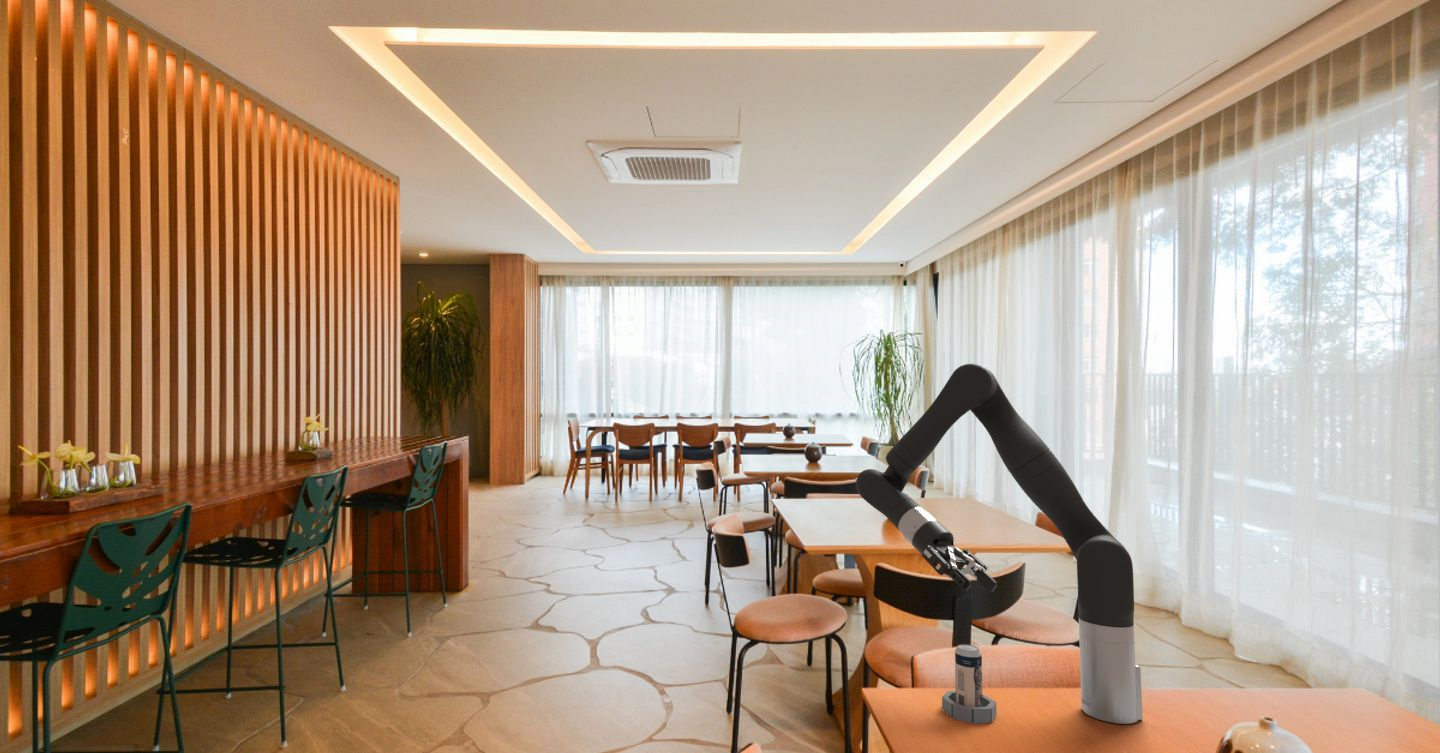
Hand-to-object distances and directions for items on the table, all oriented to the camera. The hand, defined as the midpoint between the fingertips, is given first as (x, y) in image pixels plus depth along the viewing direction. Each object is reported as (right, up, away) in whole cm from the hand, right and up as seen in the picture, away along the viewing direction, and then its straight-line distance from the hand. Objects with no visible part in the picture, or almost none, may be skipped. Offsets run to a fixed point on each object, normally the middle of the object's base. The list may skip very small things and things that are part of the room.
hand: (982, 587), depth 125 cm
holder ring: (-3, -23, -3) cm, 23 cm away
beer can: (-3, -23, -3) cm, 23 cm away
